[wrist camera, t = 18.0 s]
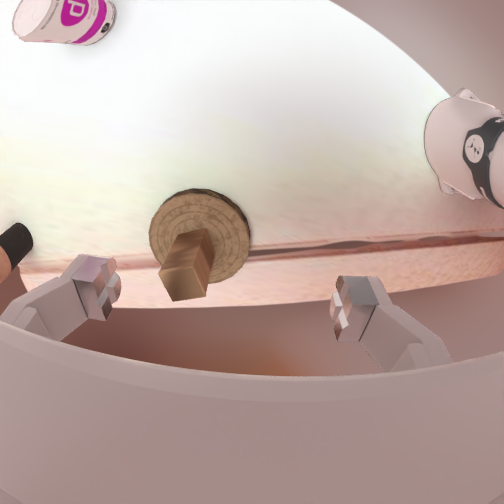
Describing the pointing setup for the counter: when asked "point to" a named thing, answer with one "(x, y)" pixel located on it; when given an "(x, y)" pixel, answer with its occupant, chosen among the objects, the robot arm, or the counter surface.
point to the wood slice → (198, 217)
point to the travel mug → (13, 248)
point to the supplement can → (62, 21)
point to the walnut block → (188, 265)
